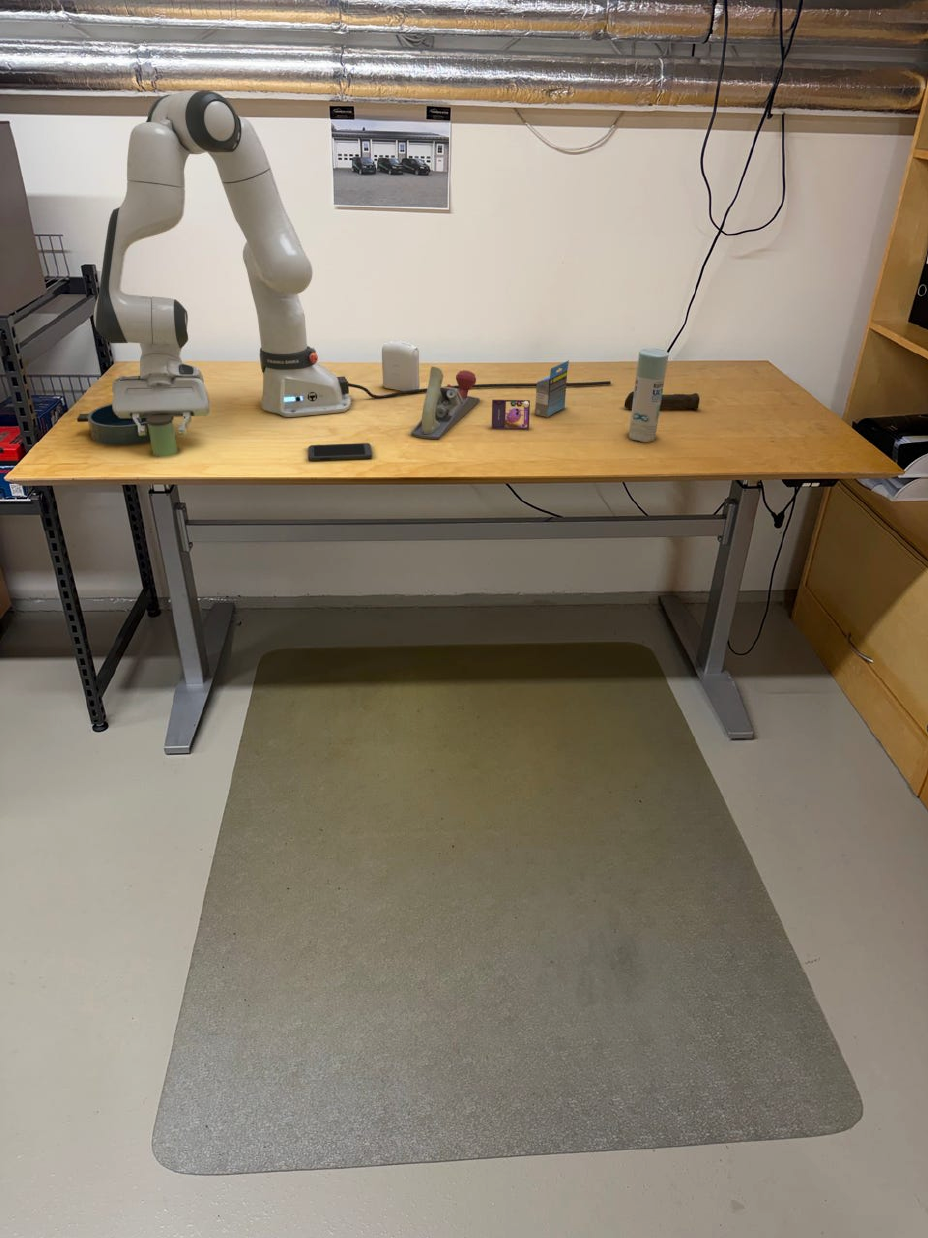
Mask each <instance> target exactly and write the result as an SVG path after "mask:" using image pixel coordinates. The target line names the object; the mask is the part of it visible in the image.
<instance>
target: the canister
mask: <svg viewBox="0 0 928 1238" xmlns="http://www.w3.org/2000/svg"><path fill="white" fill-rule="evenodd" d="M146 421H147V424H148V429H149V435H150V440H151V441H150V446H151V450H152V454H153V455H154V456H156V457H161V458H163V457H170V456H173V455H175V454H177V453H178V446H177V439H176V433H175V429H174V423H173V422H174V419H173V418H172V416H171V415H169V414H154V415H151V416H148V417H147V418H146Z"/></svg>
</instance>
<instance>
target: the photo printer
mask: <svg viewBox="0 0 928 1238" xmlns="http://www.w3.org/2000/svg"><path fill="white" fill-rule="evenodd" d="M381 369H382V387H383V388H385V389H390V390H395V391H399V392H402V391H410V390H417V389H420V385H421V383H420V352H419V349H418V347H417V346H415V345H413V344H411V343H408V342H405V341H400V340H393V341H388V342H385V343H383V344H382V347H381Z"/></svg>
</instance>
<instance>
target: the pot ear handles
mask: <svg viewBox="0 0 928 1238" xmlns="http://www.w3.org/2000/svg"><path fill="white" fill-rule="evenodd" d="M88 415H89V413H79V415H78V416H77V418H76V421H77V423H87V422H88V418H87V416H88ZM172 418H173V420H174V419H175V417H172Z"/></svg>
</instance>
